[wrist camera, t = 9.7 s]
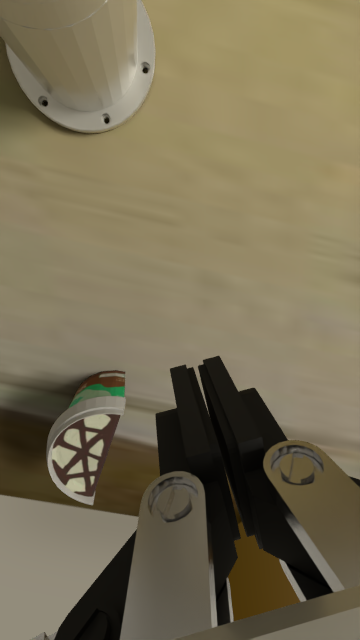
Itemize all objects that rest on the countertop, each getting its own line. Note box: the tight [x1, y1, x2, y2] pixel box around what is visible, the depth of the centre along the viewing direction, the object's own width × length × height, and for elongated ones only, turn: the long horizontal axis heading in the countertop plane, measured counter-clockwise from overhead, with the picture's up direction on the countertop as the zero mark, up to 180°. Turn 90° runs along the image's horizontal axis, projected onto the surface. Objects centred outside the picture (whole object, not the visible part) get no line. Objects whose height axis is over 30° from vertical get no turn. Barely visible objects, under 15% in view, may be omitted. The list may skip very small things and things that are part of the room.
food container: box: [46, 370, 126, 505], centre depth 36 cm, size 12×6×10 cm, turn 161°
